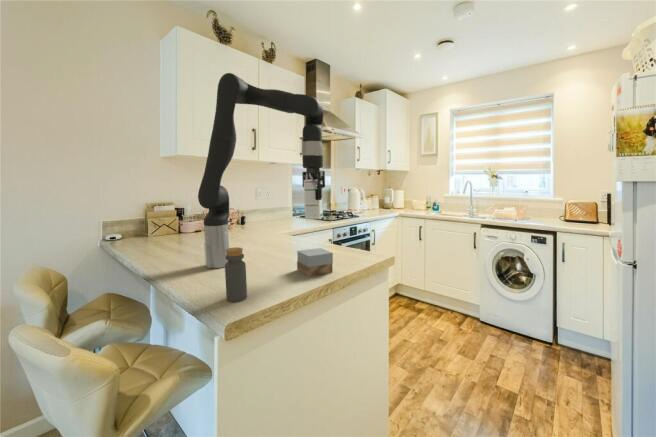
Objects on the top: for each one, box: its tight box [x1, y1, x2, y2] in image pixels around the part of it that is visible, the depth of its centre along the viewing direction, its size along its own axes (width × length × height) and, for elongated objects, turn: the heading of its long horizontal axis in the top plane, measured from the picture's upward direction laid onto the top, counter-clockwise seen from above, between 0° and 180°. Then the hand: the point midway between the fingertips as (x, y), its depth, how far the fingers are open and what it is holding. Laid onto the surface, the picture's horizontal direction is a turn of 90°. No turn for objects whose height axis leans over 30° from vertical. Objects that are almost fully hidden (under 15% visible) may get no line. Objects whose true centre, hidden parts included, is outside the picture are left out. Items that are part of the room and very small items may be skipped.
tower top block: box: [296, 247, 334, 267], centre depth 114 cm, size 10×10×4 cm
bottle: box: [224, 247, 248, 303], centre depth 88 cm, size 6×6×15 cm
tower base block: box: [296, 260, 333, 278], centre depth 114 cm, size 10×10×4 cm
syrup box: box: [303, 179, 324, 220], centre depth 111 cm, size 6×6×14 cm
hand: (313, 199), depth 111 cm, fingers closed on syrup box, 8 cm apart
